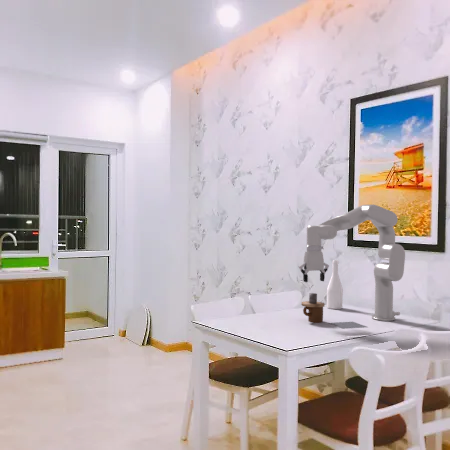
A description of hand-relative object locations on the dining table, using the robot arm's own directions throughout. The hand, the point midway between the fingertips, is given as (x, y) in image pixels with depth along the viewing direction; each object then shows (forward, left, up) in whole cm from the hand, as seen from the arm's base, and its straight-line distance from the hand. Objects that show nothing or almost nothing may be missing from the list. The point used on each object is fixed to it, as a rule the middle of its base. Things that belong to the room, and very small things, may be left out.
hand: (313, 281), depth 263 cm
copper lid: (0, 0, -13) cm, 13 cm away
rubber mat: (-14, +12, -22) cm, 28 cm away
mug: (0, 0, -22) cm, 22 cm away
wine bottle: (-36, -39, -22) cm, 57 cm away
